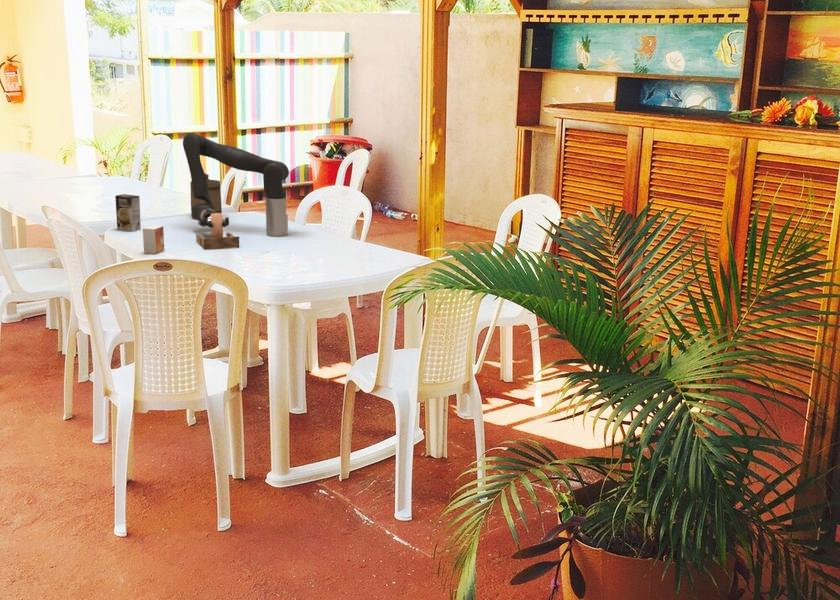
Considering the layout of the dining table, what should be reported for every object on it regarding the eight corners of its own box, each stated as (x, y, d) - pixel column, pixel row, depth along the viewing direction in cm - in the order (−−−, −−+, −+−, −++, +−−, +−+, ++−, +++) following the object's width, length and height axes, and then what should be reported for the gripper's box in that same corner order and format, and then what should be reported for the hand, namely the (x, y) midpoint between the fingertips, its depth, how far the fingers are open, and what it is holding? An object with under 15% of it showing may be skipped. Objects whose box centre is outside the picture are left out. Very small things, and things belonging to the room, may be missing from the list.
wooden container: (210, 214, 484) (209, 170, 478) (227, 218, 474) (226, 174, 468) (185, 217, 474) (183, 173, 468) (202, 221, 464) (200, 176, 458)
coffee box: (116, 230, 438) (114, 195, 434) (125, 227, 444) (123, 193, 440) (132, 232, 435) (130, 197, 431) (141, 229, 441) (139, 195, 437)
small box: (156, 254, 393) (154, 229, 390) (143, 253, 394) (142, 228, 391) (164, 250, 400) (163, 225, 398) (152, 249, 401) (151, 225, 399)
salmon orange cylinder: (221, 239, 417) (221, 212, 413) (224, 241, 412) (223, 214, 409) (210, 240, 415) (209, 213, 411) (212, 242, 410) (211, 215, 407)
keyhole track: (230, 239, 425) (229, 229, 424) (239, 247, 409) (239, 236, 408) (196, 241, 419) (195, 231, 418) (204, 249, 403) (204, 239, 402)
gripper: (193, 210, 420) (201, 217, 405) (226, 208, 426) (234, 215, 411) (194, 227, 422) (201, 234, 407) (226, 225, 428) (234, 232, 413)
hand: (218, 225), depth 409 cm, fingers closed on salmon orange cylinder, 5 cm apart
